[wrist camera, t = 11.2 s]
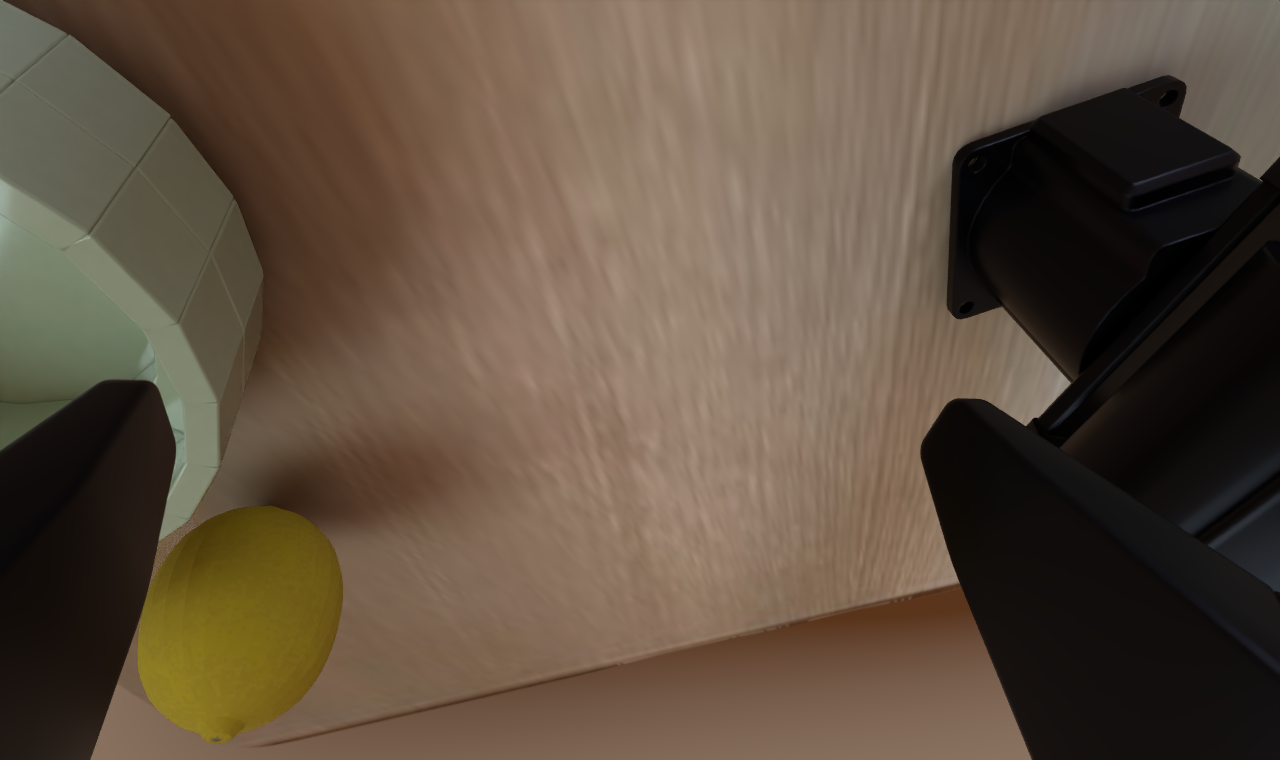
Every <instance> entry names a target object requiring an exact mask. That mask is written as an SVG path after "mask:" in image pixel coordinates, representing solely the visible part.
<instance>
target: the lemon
mask: <svg viewBox="0 0 1280 760" xmlns="http://www.w3.org/2000/svg"><path fill="white" fill-rule="evenodd" d="M342 601H343V582H342V575H341V570H340V566H339V562H338V558H337V555H336V553H335V550H334V548H333V546H332V545H331V543H330V541H329V540H328V539H327V538H326V536H325V535H324V534H323V532H322V531H321V530H320V529H319V528H318V527H317V526H315V525H314V524H313V523H311V522H310V521H308V520H307V519H306V518H304V517H303V516H301V515H298V514H296V513H294V512H292V511H288V510H284V509H280V508H278V507H276V506H273V505H266V506H254V507H244V508H238V509H233V510H230V511H228V512H225V513H222V514H220V515H217V516H214V517H212V518H210V519H209V520H207V521H205V522H204V523H202V524H201V525H199V526H198V527H196V528H195V529H193V530H192V531H191V532H189V533H188V534H187V535H185V536H184V537H183V539H182V540H181V541H180V542H179V543H178V544H177V545H176V546H175V548H174V549H173V550H172V551H171V553H170V554H169V555H168V557H167V558H166V559H165V561H164V562H163V563H162V565H161V566H160V568H159V570H158V571H157V573H156V575H155V577H154V579H153V581H152V583H151V585H150V588H149V591H148V593H147V596H146V600H145V603H144V607H143V612H142V617H141V623H140V629H139V636H138V652H137V656H138V669H139V675H140V679H141V681H142V684H143V686H144V689H145V691H146V694H147V696H148V698H149V700H150V701H151V702H152V704H153V705H154V707H155V708H156V709H157V710H159V711H160V712H161V713H162V714H163V715H164V716H165V717H166V718H167V719H168V720H170V721H171V722H173V723H174V724H176V725H177V726H179V727H182V728H184V729H186V730H189V731H192V732H196V733H199V734H200V735H201V736H202V738H203V739H204V740H205V741H206V742H209V743H216V744H217V743H225V742H228V741H230V740H231V739H232V738H233V737H234V736H236V735H237V734H238V733H242V732H246V731H249V730H253V729H256V728H258V727H260V726H263V725H265V724H267V723H269V722H271V721H273V720H274V719H276V718H277V717H279V716H280V715H281V714H283V713H284V712H286V711H287V710H289V709H290V708H292V707H293V706H294V705H295V704H296V703H297V702H298V701H300V700H301V699H302V697H303V696H304V695H305V694H306V693H307V691H308V690H309V689H310V688H311V686H312V685H313V684H314V682H315V681H316V679H317V678H318V676H319V674H320V673H321V671H322V669H323V667H324V665H325V663H326V661H327V659H328V656H329V654H330V651H331V649H332V646H333V643H334V640H335V637H336V633H337V629H338V625H339V620H340V615H341V609H342Z"/></svg>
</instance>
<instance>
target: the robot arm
mask: <svg viewBox="0 0 1280 760" xmlns="http://www.w3.org/2000/svg"><path fill="white" fill-rule="evenodd" d="M1165 93H1166V94H1165ZM1164 94H1165V95H1164ZM1163 95H1164V96H1163ZM1185 95H1186V85H1185V83H1184V82H1182V81H1181V80H1179V79H1177V78H1175V77H1172V76H1170V75H1167V76H1162V77H1159V78H1156V79H1153V80H1150V81H1147V82H1145V83H1142V84H1139V85H1136V86H1133V87H1130V88H1122V89H1119V90H1116V91H1113V92H1111V93H1108V94H1105V95H1102V96H1099V97H1096V98H1093V99H1090V100H1087V101H1085V102H1082V103H1079V104H1076V105H1073V106H1070V107H1067V108H1064V109H1061V110H1058V111H1056V112H1053V113H1050V114H1047V115H1044V116H1041V117H1040V118H1038V119H1037V120H1034V121H1032V122H1029V123H1026V124H1023V125H1020V126H1017V127H1014V128H1011V129H1008V130H1005V131H1003V132H1000V133H997V134H994V135H991V136H988V137H985V138H982V139H979V140H977V141H974V142H971V143H969V144H967V145H965V146H963V147H962V148H961V149H960V150H959V151H958V152H957V154H956V155H955V157H954V160H953V165H952V189H951V213H950V236H949V260H948V284H947V309H948V310H949V311H950V313H951V314H952V315H953V316H954V317H955V318H957V319H965V318H968V317H971V316H974V315H977V314H980V313H983V312H986V311H989V310H992V309H995V308H998V307H1003V308H1004V309H1005V310H1006V311H1007V313H1008V314H1009V315H1010V316H1011V317H1012V318H1013V319H1014V320H1015V321H1016V323H1017V324H1018V325H1019V326H1020V327H1021V328H1022V329H1023V330H1024V331H1025V333H1026V334H1027V335H1028V336H1029V337H1030V338H1031V339H1032V340H1033V341H1034V343H1035V344H1036V345H1037V346H1038V347H1039V348H1040V349H1041V350H1042V351H1043V352H1044V354H1045V355H1046V356H1047V357H1048V358H1049V359H1050V360H1051V361H1052V362H1053V364H1054V365H1055V366H1056V367H1057V368H1058V369H1059V370H1060V371H1061V372H1062V374H1063V375H1064V376H1065V377H1066V378H1067V379H1068V380H1069V381H1070V382H1071V384H1070V385H1069V386H1068V387H1067V388H1066V389H1065V390H1064V392H1063V393H1062V394H1061V395H1060V396H1059V397H1058V398H1057V399H1056V400H1055V401H1054V402H1053V403H1052V404H1051V405H1050V406H1049V407H1048V408H1047V409H1046V411H1045V412H1044V413H1043V414H1042V415H1041V416H1040V417H1039V418H1033V419H1032V420H1031V422H1030V423H1029V424H1028V425H1027V426H1024V425H1023V424H1021V423H1020V422H1018V421H1017V420H1015V419H1014V418H1012V417H1011V416H1009V415H1008V414H1006V413H1005V412H1003V411H1001V410H1000V409H998V408H997V407H995V406H994V405H992V404H991V403H989V402H987V401H985V400H982V399H966V398H957V399H953V400H952V401H950V402H949V403H947V405H946V406H945V407H944V409H943V410H942V412H941V413H940V415H939V416H938V418H937V419H936V421H935V422H934V424H933V425H932V427H931V428H930V430H929V431H928V433H927V435H926V436H925V438H924V439H923V441H922V444H921V450H920V455H921V461H922V465H923V468H924V471H925V475H926V478H927V481H928V485H929V488H930V492H931V495H932V498H933V502H934V505H935V508H936V512H937V515H938V519H939V522H940V525H941V529H942V532H943V535H944V539H945V542H946V546H947V549H948V552H949V555H950V558H951V561H952V564H953V567H954V569H955V572H956V574H957V577H958V580H959V582H960V585H961V587H962V590H963V592H964V594H965V597H966V599H967V602H968V604H969V606H970V609H971V612H972V614H973V616H974V619H975V621H976V624H977V626H978V629H979V631H980V634H981V636H982V638H983V641H984V643H985V646H986V648H987V651H988V653H989V656H990V658H991V660H992V663H993V665H994V668H995V670H996V673H997V675H998V678H999V680H1000V683H1001V685H1002V688H1003V690H1004V692H1005V695H1006V697H1007V700H1008V702H1009V705H1010V707H1011V710H1012V712H1013V714H1014V717H1015V719H1016V722H1017V724H1018V727H1019V729H1020V731H1021V734H1022V737H1023V739H1024V741H1025V744H1026V746H1027V749H1028V751H1029V753H1030V756H1031V759H1032V760H1280V157H1279V158H1278V159H1277V160H1276V161H1275V162H1274V164H1273V165H1272V166H1271V167H1270V168H1269V169H1268V170H1267V171H1266V172H1265V173H1264V174H1263V175H1262V176H1261V177H1260V179H1261V180H1262V181H1263V182H1262V181H1260V180H1258V179H1257V178H1255V177H1253V176H1252V175H1250V174H1248V173H1247V172H1245V171H1243V170H1242V169H1240V168H1238V165H1239V162H1240V158H1241V156H1240V155H1239V154H1238V153H1237V152H1236V151H1234V150H1233V149H1232V148H1230V147H1228V146H1227V145H1225V144H1223V143H1221V142H1220V141H1218V140H1216V139H1215V138H1213V137H1211V136H1209V135H1208V134H1206V133H1204V132H1202V131H1201V130H1199V129H1197V128H1195V127H1194V126H1192V125H1190V124H1188V123H1187V122H1185V121H1183V120H1181V119H1180V118H1179V116H1180V113H1181V109H1182V105H1183V102H1184V98H1185ZM1162 96H1163V98H1162V99H1161V97H1162ZM977 156H978V157H977ZM975 157H977V160H976V161H975V162H974V163H973V164H972V165H970V166H968V165H969V163H970V162H971V160H972V159H974V158H975ZM964 303H965V304H964ZM175 460H176V441H175V437H174V433H173V430H172V427H171V424H170V421H169V418H168V415H167V412H166V409H165V406H164V403H163V400H162V397H161V394H160V391H159V389H158V387H157V386H156V385H155V384H154V383H153V382H151V381H148V380H126V379H109V380H103V381H101V382H99V383H97V384H95V385H94V386H92V387H91V388H89V389H88V390H86V391H85V392H83V393H82V394H81V395H79V396H78V397H76V398H75V399H73V400H72V401H71V402H69V403H68V404H66V405H65V406H63V407H62V408H60V409H59V410H58V411H56V412H55V413H53V414H52V415H50V416H49V417H47V418H46V419H45V420H43V421H42V422H40V423H39V424H37V425H36V426H34V427H33V428H32V429H30V430H29V431H27V432H26V433H24V434H23V435H22V436H20V437H19V438H17V439H16V440H14V441H13V442H11V443H10V444H9V445H7V446H6V447H4V448H3V449H1V450H0V760H90V759H91V756H92V753H93V750H94V747H95V745H96V742H97V739H98V736H99V733H100V730H101V727H102V725H103V722H104V719H105V716H106V713H107V711H108V708H109V705H110V702H111V699H112V696H113V693H114V690H115V688H116V685H117V682H118V679H119V676H120V674H121V671H122V668H123V665H124V662H125V659H126V656H127V654H128V651H129V648H130V645H131V642H132V639H133V636H134V634H135V631H136V628H137V625H138V622H139V619H140V616H141V613H142V609H143V606H144V603H145V600H146V596H147V591H148V587H149V583H150V579H151V574H152V570H153V565H154V560H155V555H156V551H157V546H158V541H159V536H160V532H161V527H162V522H163V517H164V513H165V508H166V503H167V499H168V494H169V489H170V484H171V480H172V475H173V470H174V465H175Z"/></svg>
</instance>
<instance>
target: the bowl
mask: <svg viewBox="0 0 1280 760" xmlns="http://www.w3.org/2000/svg"><path fill="white" fill-rule="evenodd" d="M170 117H171V115H170V114H169V113H168V112H166V111H165V110H164V109H163V108H161V107H160V106H159V105H158V104H156V103H155V102H154V101H153V100H151V99H150V98H149V97H148V96H146V95H145V94H144V93H143V92H141V91H140V90H139V89H138V88H136V87H135V86H134V85H133V84H131V83H130V82H129V81H128V80H126V79H125V78H124V77H123V76H121V75H120V74H119V73H118V72H116V71H115V70H114V69H113V68H111V67H110V66H109V65H108V64H106V63H105V62H104V61H103V60H101V59H100V58H99V57H98V56H97V55H95V54H94V53H93V52H92V51H90V50H89V49H88V48H87V47H85V46H84V45H83V44H82V43H80V42H79V41H78V40H77V39H75V38H74V37H73V36H71V35H67V34H66V33H65V32H64V31H62V30H60V29H58V28H56V27H54V26H52V25H50V24H48V23H46V22H44V21H42V20H40V19H38V18H36V17H34V16H32V15H30V14H29V13H27V12H25V11H23V10H21V9H19V8H17V7H15V6H13V5H11V4H9V3H7V2H5V1H3V0H0V450H1V449H3V448H4V447H6V446H7V445H9V444H10V443H11V442H13V441H14V440H16V439H17V438H19V437H20V436H22V435H23V434H24V433H26V432H27V431H29V430H30V429H32V428H33V427H34V426H36V425H37V424H39V423H40V422H42V421H43V420H45V419H46V418H47V417H49V416H50V415H52V414H53V413H55V412H56V411H58V410H59V409H60V408H62V407H63V406H65V405H66V404H68V403H69V402H71V401H72V400H73V399H75V398H76V397H78V396H79V395H81V394H82V393H83V392H85V391H86V390H88V389H89V388H91V387H92V386H94V385H95V384H97V383H99V382H101V381H103V380H109V379H126V380H148V381H151V382H153V383H154V384H155V385H156V386H157V387H158V389H159V391H160V394H161V397H162V400H163V403H164V406H165V409H166V412H167V415H168V418H169V421H170V424H171V427H172V430H173V433H174V437H175V441H176V460H175V465H174V470H173V475H172V480H171V484H170V489H169V494H168V499H167V503H166V508H165V513H164V517H163V522H162V527H161V532H160V536H159V541H161V540H162V539H164V538H165V537H166V536H168V535H169V534H171V533H172V532H174V531H175V530H176V529H178V528H179V527H181V526H182V525H184V524H185V523H186V522H188V521H189V520H190V518H191V517H192V516H193V514H194V512H195V511H196V509H197V507H198V505H199V504H200V502H201V500H202V499H203V497H204V495H205V493H206V492H207V490H208V488H209V486H210V485H211V483H212V481H213V480H214V478H215V476H216V474H217V473H218V471H219V469H220V467H221V463H222V460H223V457H224V454H225V451H226V447H227V444H228V441H229V438H230V435H231V431H232V428H233V425H234V422H235V419H236V415H237V412H238V409H239V406H240V402H241V399H242V396H243V393H244V390H245V386H246V383H247V380H248V377H249V374H250V370H251V367H252V364H253V361H254V358H255V354H256V351H257V348H258V345H259V342H260V338H261V335H262V316H263V287H264V274H263V270H262V267H261V264H260V262H259V259H258V256H257V254H256V251H255V249H254V246H253V243H252V241H251V238H250V235H249V233H248V230H247V228H246V225H245V222H244V220H243V217H242V214H241V212H240V209H239V206H238V204H237V201H236V200H235V199H234V197H233V195H232V193H231V192H230V191H229V190H228V188H227V187H226V186H225V185H224V183H223V182H222V181H221V179H220V178H219V177H218V176H217V174H216V173H215V172H214V170H213V169H212V168H211V167H210V165H209V164H208V163H207V161H206V160H205V159H204V158H203V156H202V155H201V154H200V153H199V151H198V150H197V149H196V147H195V146H194V145H193V144H192V142H191V141H190V140H189V138H188V137H187V136H186V135H185V133H184V132H183V131H182V129H181V128H180V127H179V126H178V124H177V123H176V122H175V121H174V120H173V119H172V118H170ZM159 541H158V542H159Z"/></svg>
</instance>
